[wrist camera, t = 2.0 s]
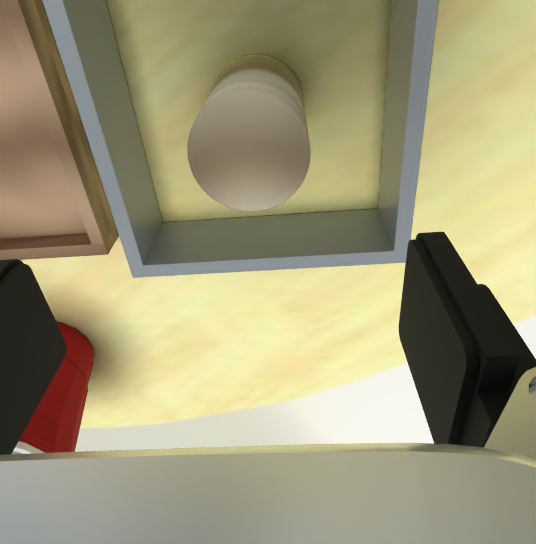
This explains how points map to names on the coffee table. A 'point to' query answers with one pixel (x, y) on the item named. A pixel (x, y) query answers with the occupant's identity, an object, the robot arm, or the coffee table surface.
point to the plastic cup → (61, 401)
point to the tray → (44, 149)
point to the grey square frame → (259, 229)
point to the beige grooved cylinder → (251, 136)
